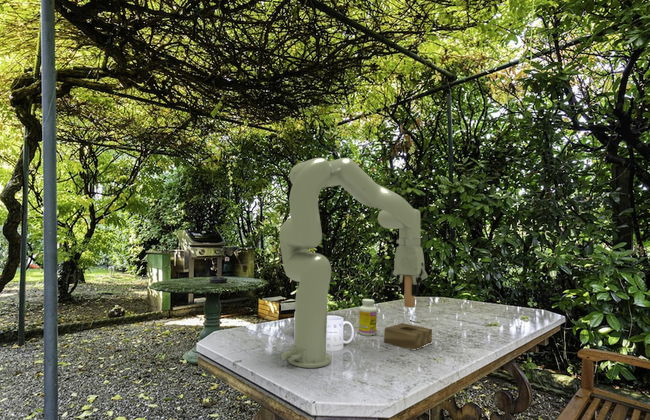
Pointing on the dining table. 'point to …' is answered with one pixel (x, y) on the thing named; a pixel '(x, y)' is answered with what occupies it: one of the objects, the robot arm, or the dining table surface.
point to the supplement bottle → (367, 318)
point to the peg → (408, 292)
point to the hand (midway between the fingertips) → (409, 294)
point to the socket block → (407, 336)
